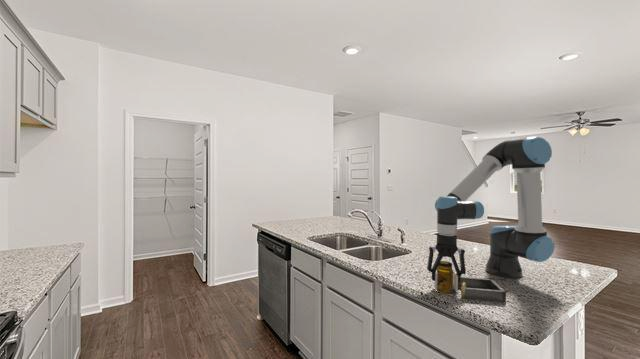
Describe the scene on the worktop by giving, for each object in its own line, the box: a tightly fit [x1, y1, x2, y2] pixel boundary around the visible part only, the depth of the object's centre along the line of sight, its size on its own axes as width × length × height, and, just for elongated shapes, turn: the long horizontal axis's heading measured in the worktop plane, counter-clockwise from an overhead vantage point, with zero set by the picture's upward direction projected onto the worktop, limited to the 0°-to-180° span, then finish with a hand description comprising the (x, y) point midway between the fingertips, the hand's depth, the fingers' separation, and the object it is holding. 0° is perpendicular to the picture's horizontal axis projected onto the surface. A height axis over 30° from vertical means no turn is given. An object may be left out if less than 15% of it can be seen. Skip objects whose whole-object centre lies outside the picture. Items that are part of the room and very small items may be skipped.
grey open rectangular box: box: [453, 271, 507, 303], centre depth 116 cm, size 16×14×6 cm
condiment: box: [433, 260, 457, 297], centre depth 118 cm, size 7×8×12 cm
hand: (445, 289), depth 118 cm, fingers open, 7 cm apart
